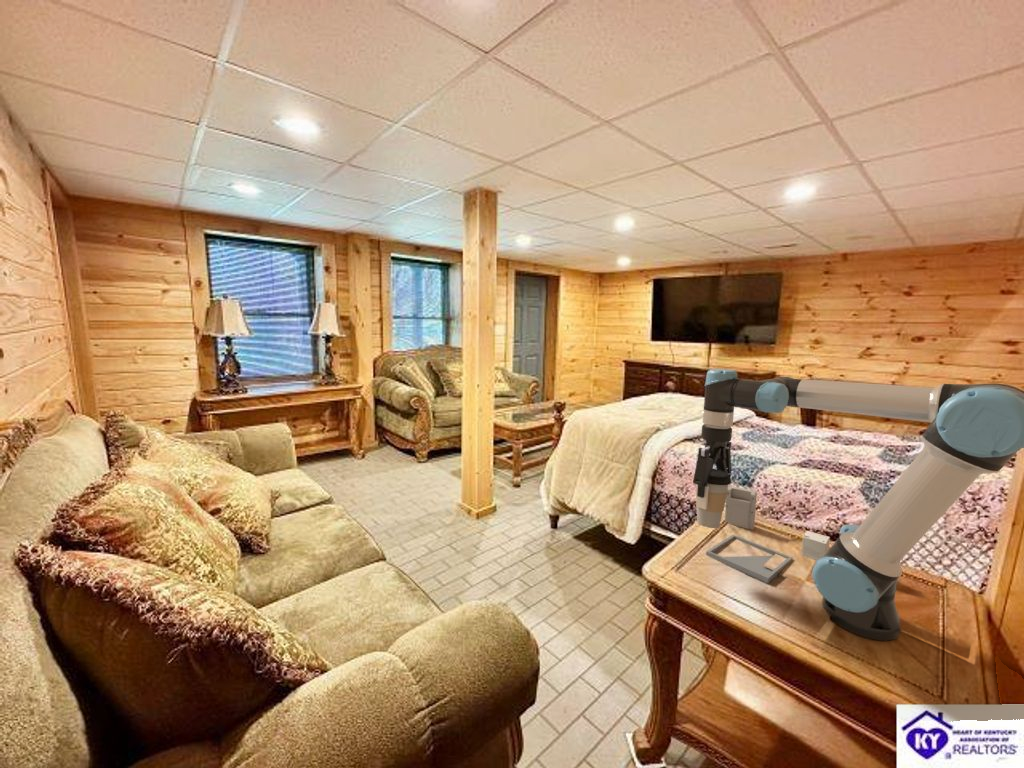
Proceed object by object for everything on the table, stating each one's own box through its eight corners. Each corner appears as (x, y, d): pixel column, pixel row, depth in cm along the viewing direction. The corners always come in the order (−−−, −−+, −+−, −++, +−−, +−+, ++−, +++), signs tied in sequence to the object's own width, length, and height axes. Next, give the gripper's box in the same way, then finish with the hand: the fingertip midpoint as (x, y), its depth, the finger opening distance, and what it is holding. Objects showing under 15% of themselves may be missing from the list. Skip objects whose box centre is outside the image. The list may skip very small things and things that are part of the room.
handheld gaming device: (752, 534, 147) (754, 528, 150) (755, 495, 144) (756, 490, 147) (724, 527, 153) (726, 522, 156) (726, 489, 149) (728, 484, 152)
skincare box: (827, 559, 133) (830, 536, 132) (824, 567, 128) (827, 543, 127) (804, 551, 137) (807, 529, 136) (800, 558, 132) (802, 536, 131)
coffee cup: (719, 518, 126) (724, 468, 125) (732, 532, 117) (737, 479, 115) (686, 515, 127) (690, 466, 126) (696, 529, 118) (701, 476, 116)
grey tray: (792, 563, 130) (792, 557, 130) (767, 584, 119) (768, 578, 119) (732, 539, 143) (733, 534, 143) (705, 556, 133) (706, 551, 132)
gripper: (722, 418, 128) (716, 490, 131) (682, 428, 115) (676, 508, 118) (749, 422, 122) (742, 498, 126) (710, 434, 109) (703, 518, 112)
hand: (710, 503), depth 122 cm, fingers closed on coffee cup, 9 cm apart
